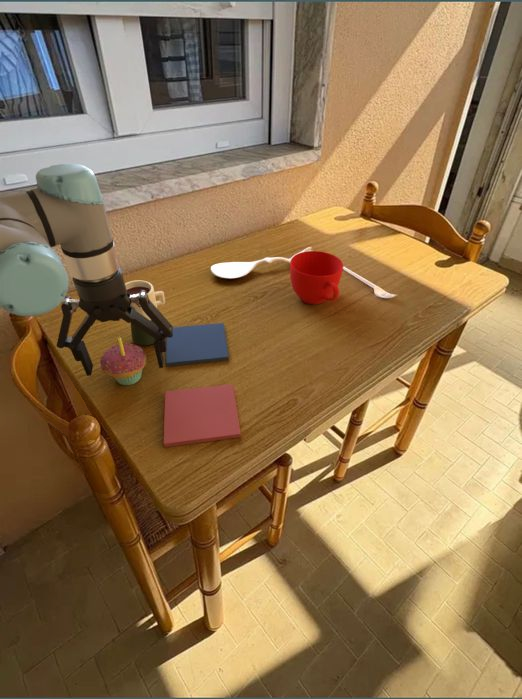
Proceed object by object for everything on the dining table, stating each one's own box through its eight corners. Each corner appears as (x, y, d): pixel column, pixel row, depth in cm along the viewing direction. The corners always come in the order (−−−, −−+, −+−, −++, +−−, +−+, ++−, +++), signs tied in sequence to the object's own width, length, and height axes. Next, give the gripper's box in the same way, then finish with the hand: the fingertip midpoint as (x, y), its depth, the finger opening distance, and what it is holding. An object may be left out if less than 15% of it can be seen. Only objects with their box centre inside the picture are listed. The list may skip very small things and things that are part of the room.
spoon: (322, 269, 111) (324, 258, 109) (215, 286, 103) (214, 274, 101) (310, 255, 117) (311, 245, 115) (208, 270, 109) (207, 259, 107)
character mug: (166, 323, 90) (157, 275, 82) (175, 341, 85) (166, 291, 77) (119, 335, 86) (105, 286, 78) (125, 354, 82) (110, 304, 73)
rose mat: (164, 447, 64) (163, 443, 63) (165, 394, 73) (165, 391, 72) (240, 437, 66) (240, 433, 65) (233, 387, 75) (232, 383, 74)
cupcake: (157, 379, 76) (146, 332, 68) (117, 399, 72) (100, 352, 64) (138, 357, 81) (126, 310, 73) (99, 374, 77) (82, 327, 69)
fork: (346, 267, 112) (347, 261, 110) (397, 300, 99) (399, 294, 98) (337, 270, 110) (338, 264, 109) (388, 304, 98) (390, 297, 96)
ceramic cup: (308, 325, 90) (313, 289, 84) (279, 289, 102) (281, 255, 96) (355, 314, 94) (363, 278, 88) (322, 280, 106) (326, 247, 99)
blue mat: (166, 366, 79) (165, 363, 78) (167, 331, 88) (167, 327, 87) (228, 360, 81) (228, 356, 80) (223, 326, 90) (223, 322, 89)
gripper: (175, 254, 65) (189, 348, 79) (20, 265, 62) (63, 360, 76) (175, 277, 60) (190, 373, 74) (4, 290, 56) (54, 388, 70)
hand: (126, 367), depth 75 cm, fingers open, 13 cm apart
